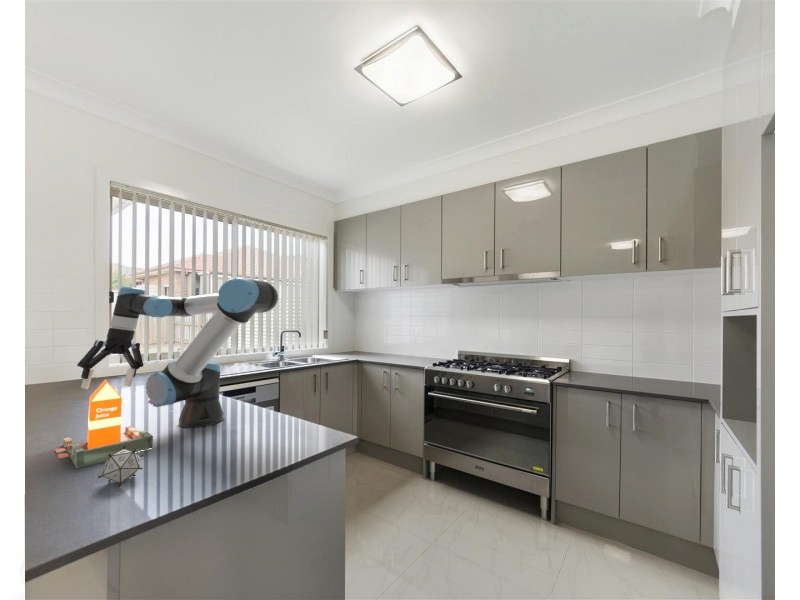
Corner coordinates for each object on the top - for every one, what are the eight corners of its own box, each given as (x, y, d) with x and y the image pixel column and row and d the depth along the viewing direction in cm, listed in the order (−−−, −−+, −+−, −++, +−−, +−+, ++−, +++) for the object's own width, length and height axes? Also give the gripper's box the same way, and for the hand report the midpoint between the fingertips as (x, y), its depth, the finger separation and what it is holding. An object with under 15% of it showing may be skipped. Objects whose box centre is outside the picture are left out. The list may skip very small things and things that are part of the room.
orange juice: (117, 436, 114) (120, 377, 115) (120, 443, 108) (123, 381, 109) (86, 442, 108) (89, 380, 109) (87, 450, 102) (90, 384, 103)
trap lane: (63, 445, 106) (64, 432, 106) (130, 431, 119) (130, 419, 119) (76, 468, 90) (77, 453, 90) (152, 449, 103) (152, 435, 103)
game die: (117, 495, 83) (121, 454, 89) (151, 481, 84) (153, 442, 90) (85, 493, 76) (91, 449, 81) (122, 478, 77) (127, 435, 82)
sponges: (155, 408, 151) (155, 403, 151) (148, 403, 160) (148, 399, 160) (173, 404, 157) (173, 400, 157) (165, 400, 165) (165, 396, 165)
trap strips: (54, 450, 102) (54, 449, 102) (64, 448, 103) (64, 447, 103) (59, 459, 95) (59, 458, 95) (69, 457, 97) (69, 456, 97)
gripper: (149, 330, 135) (135, 383, 132) (75, 323, 112) (56, 387, 109) (162, 332, 133) (149, 386, 130) (89, 326, 109) (71, 391, 106)
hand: (106, 387), depth 119 cm, fingers open, 13 cm apart
